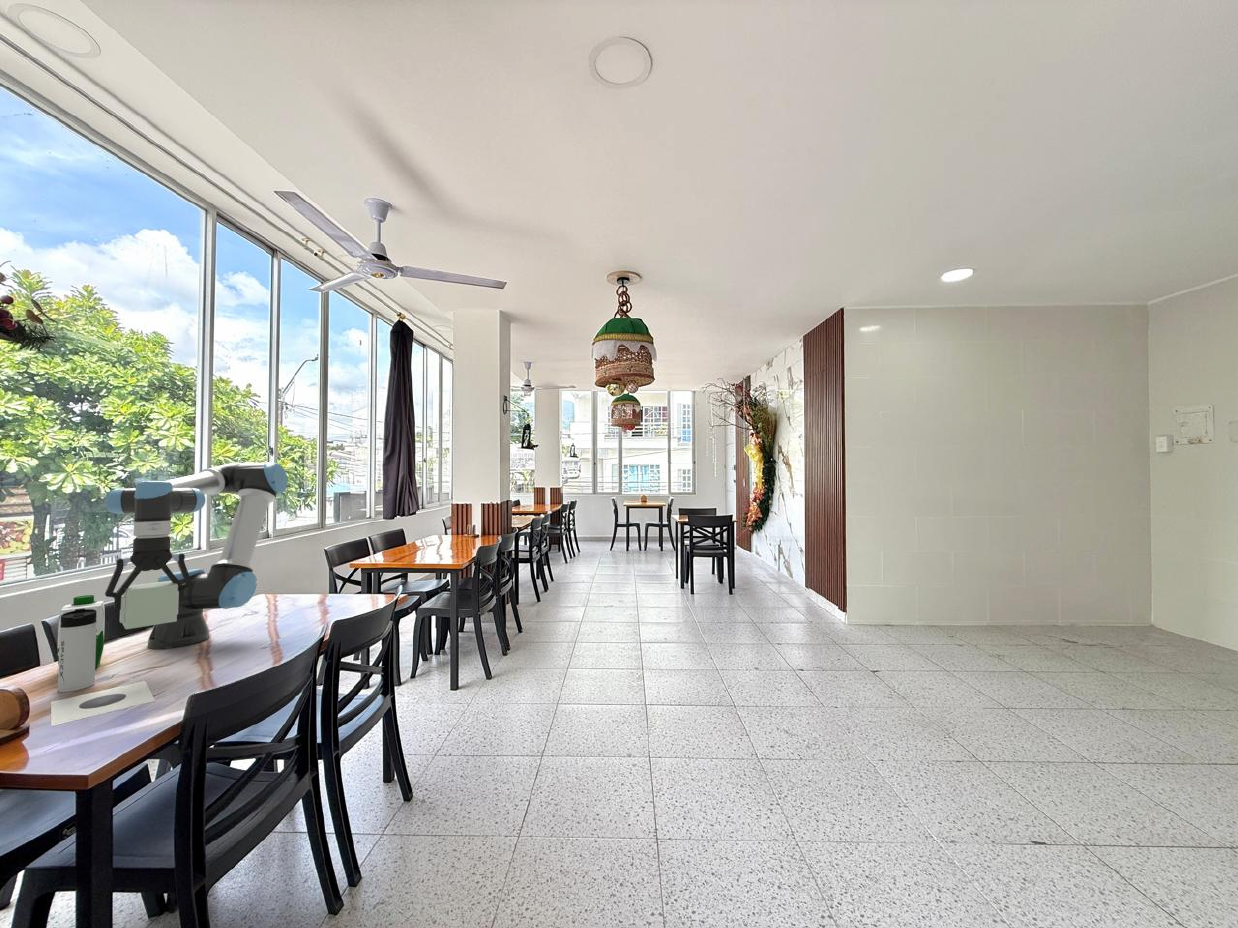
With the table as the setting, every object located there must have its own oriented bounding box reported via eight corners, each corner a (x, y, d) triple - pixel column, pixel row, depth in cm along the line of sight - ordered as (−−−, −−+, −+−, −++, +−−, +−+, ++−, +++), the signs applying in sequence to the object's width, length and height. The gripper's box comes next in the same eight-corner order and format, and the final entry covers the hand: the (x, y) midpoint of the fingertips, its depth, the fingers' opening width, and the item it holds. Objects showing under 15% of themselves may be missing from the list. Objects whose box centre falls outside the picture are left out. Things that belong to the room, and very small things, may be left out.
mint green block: (121, 622, 135) (123, 585, 136) (170, 615, 143) (171, 580, 143) (125, 629, 129) (127, 590, 129) (176, 621, 136) (177, 584, 137)
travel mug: (95, 683, 129) (97, 606, 130) (93, 691, 124) (96, 610, 125) (59, 690, 124) (61, 610, 125) (56, 698, 120) (59, 615, 120)
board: (50, 706, 116) (51, 701, 116) (145, 684, 128) (145, 680, 128) (51, 730, 104) (51, 725, 104) (154, 704, 116) (155, 699, 116)
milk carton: (104, 661, 145) (107, 592, 146) (100, 669, 138) (103, 598, 139) (60, 668, 139) (62, 597, 140) (53, 678, 133) (56, 603, 133)
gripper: (93, 540, 126) (90, 629, 125) (207, 534, 143) (205, 611, 142) (92, 539, 131) (88, 624, 130) (202, 532, 148) (199, 607, 147)
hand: (149, 617), depth 136 cm, fingers closed on mint green block, 10 cm apart
